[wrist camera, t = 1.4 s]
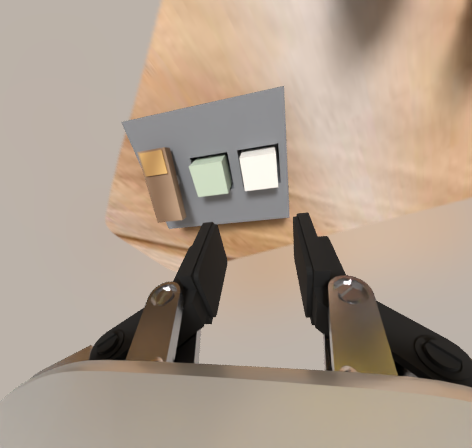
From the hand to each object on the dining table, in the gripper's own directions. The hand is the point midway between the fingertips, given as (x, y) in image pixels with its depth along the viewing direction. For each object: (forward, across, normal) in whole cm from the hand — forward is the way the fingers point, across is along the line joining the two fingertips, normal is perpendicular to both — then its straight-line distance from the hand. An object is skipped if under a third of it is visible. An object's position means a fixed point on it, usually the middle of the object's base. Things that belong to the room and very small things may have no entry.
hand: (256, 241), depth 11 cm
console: (+17, +6, 0) cm, 18 cm away
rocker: (+11, +11, 0) cm, 16 cm away
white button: (+14, 0, 0) cm, 14 cm away
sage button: (+15, +6, 0) cm, 16 cm away
